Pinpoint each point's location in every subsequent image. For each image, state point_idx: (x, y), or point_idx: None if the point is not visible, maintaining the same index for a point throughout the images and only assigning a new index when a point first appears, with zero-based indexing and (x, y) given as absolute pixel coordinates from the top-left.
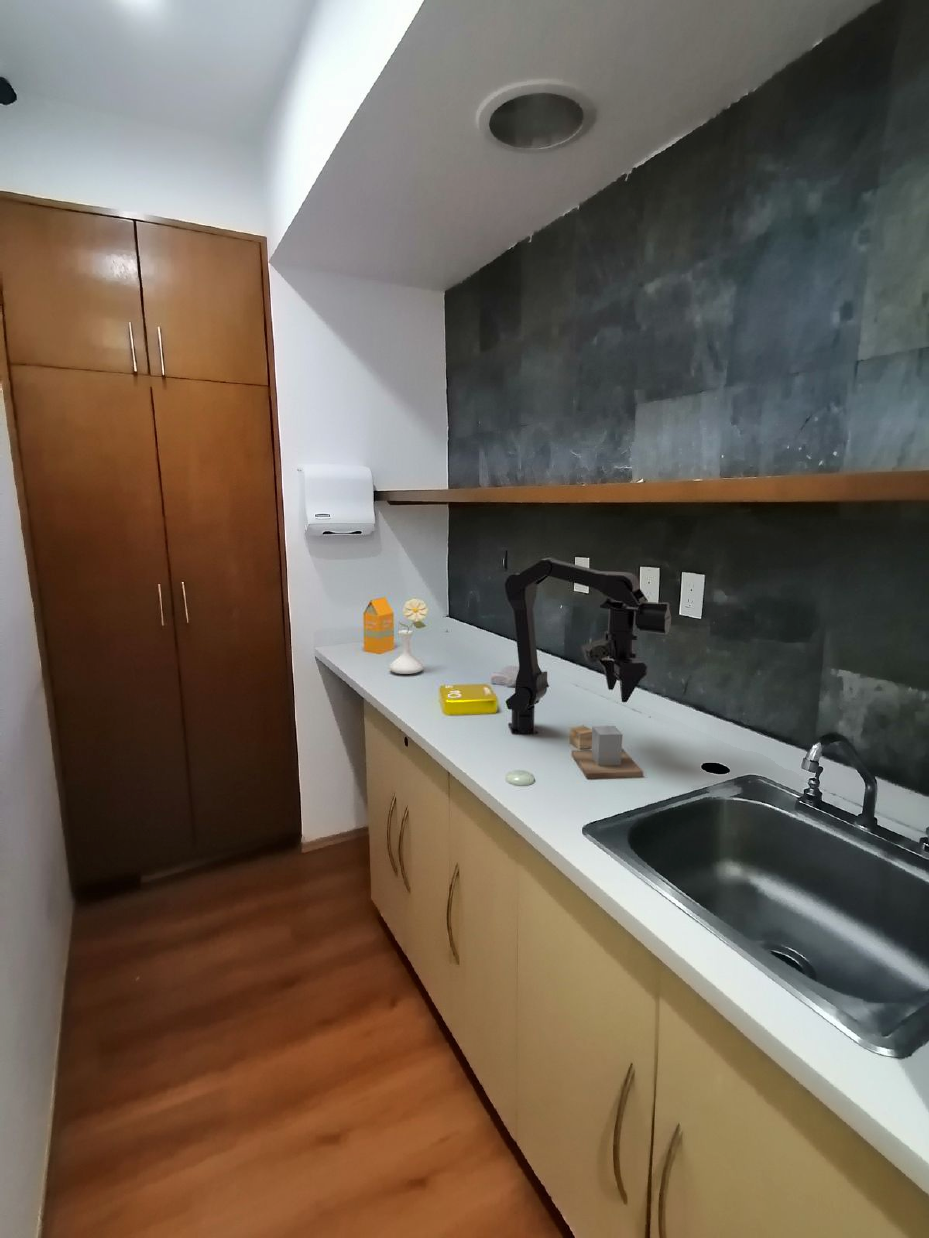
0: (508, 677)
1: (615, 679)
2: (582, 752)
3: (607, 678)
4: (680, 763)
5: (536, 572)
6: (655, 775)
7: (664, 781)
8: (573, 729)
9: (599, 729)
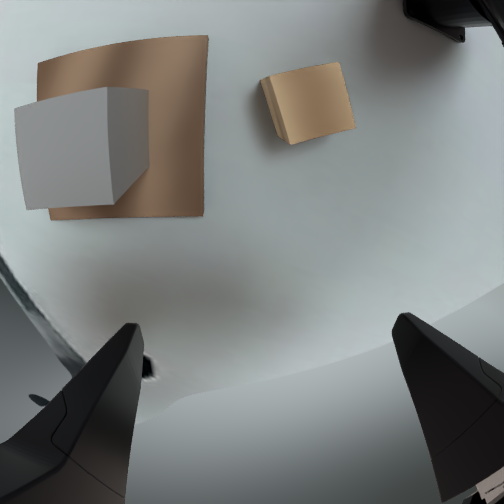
0: None
1: (415, 389)
2: (184, 67)
3: (445, 357)
4: (143, 323)
5: None
6: (69, 247)
7: (45, 255)
8: (318, 66)
9: (65, 115)
